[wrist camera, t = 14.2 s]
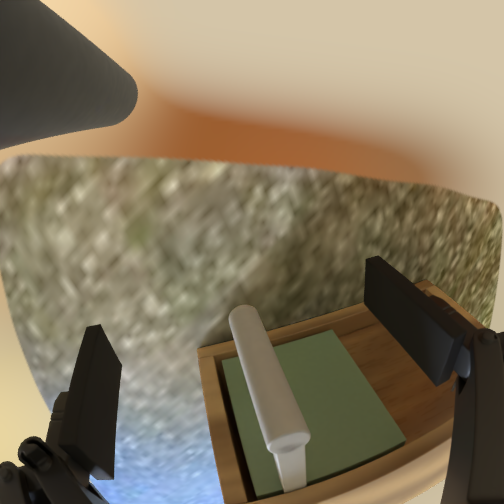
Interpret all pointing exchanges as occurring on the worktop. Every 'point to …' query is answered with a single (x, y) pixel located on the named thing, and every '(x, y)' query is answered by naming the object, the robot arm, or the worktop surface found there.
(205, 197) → the worktop surface
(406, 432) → the cupboard
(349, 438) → the sliding door
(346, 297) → the worktop surface
